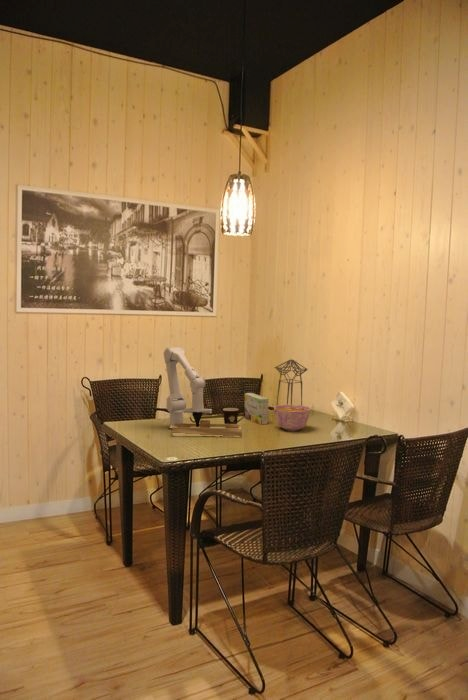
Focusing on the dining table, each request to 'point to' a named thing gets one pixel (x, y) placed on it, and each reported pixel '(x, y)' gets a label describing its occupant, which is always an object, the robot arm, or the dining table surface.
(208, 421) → the walnut block
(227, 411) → the coffee mug
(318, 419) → the dining table surface
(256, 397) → the snack box
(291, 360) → the geometric lantern
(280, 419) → the bowl of food
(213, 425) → the trap trough
